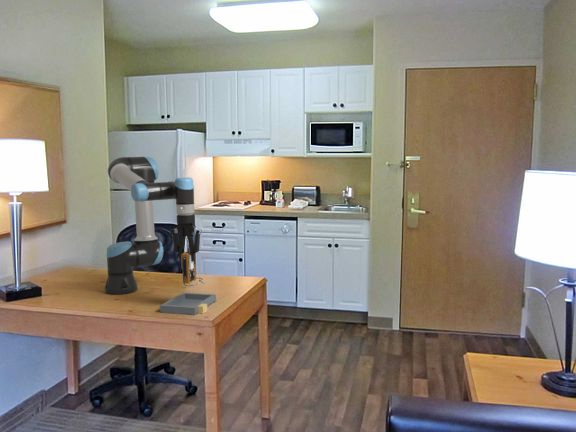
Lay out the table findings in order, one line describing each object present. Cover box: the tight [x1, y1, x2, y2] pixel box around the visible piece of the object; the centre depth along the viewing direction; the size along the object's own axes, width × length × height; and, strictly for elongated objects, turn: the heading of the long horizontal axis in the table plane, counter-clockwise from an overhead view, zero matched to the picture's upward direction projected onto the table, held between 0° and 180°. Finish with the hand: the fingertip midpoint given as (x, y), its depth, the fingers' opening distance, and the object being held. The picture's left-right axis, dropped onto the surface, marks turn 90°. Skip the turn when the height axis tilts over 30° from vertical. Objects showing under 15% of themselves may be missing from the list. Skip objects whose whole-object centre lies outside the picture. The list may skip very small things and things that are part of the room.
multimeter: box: [181, 237, 206, 287], centre depth 219 cm, size 15×10×20 cm
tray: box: [159, 292, 217, 316], centre depth 220 cm, size 18×21×3 cm
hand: (187, 268), depth 219 cm, fingers closed on multimeter, 3 cm apart
